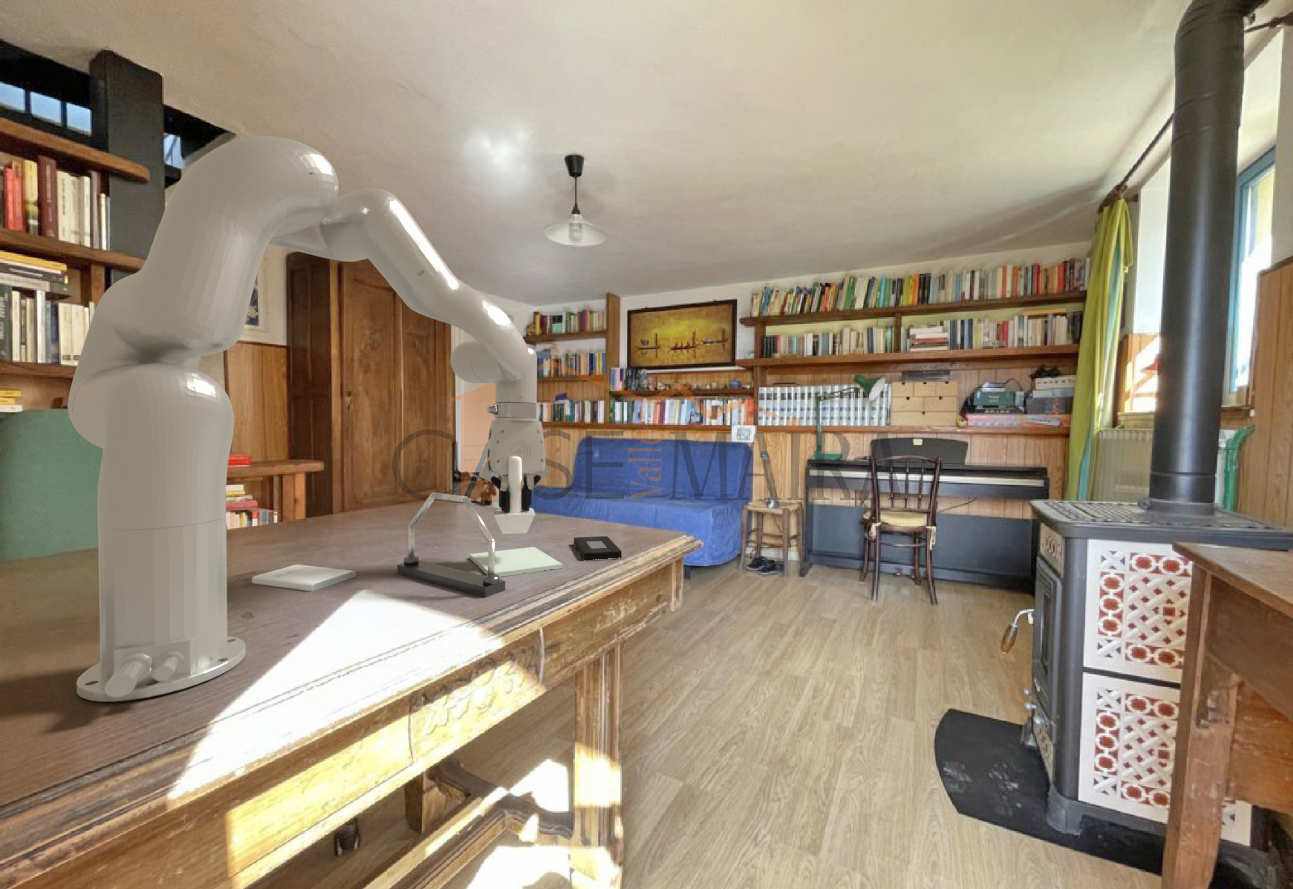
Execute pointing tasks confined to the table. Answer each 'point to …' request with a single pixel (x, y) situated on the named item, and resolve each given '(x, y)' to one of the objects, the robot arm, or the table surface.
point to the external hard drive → (303, 577)
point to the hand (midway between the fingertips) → (515, 509)
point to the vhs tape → (597, 548)
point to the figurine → (514, 503)
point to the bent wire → (446, 574)
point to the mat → (516, 561)
